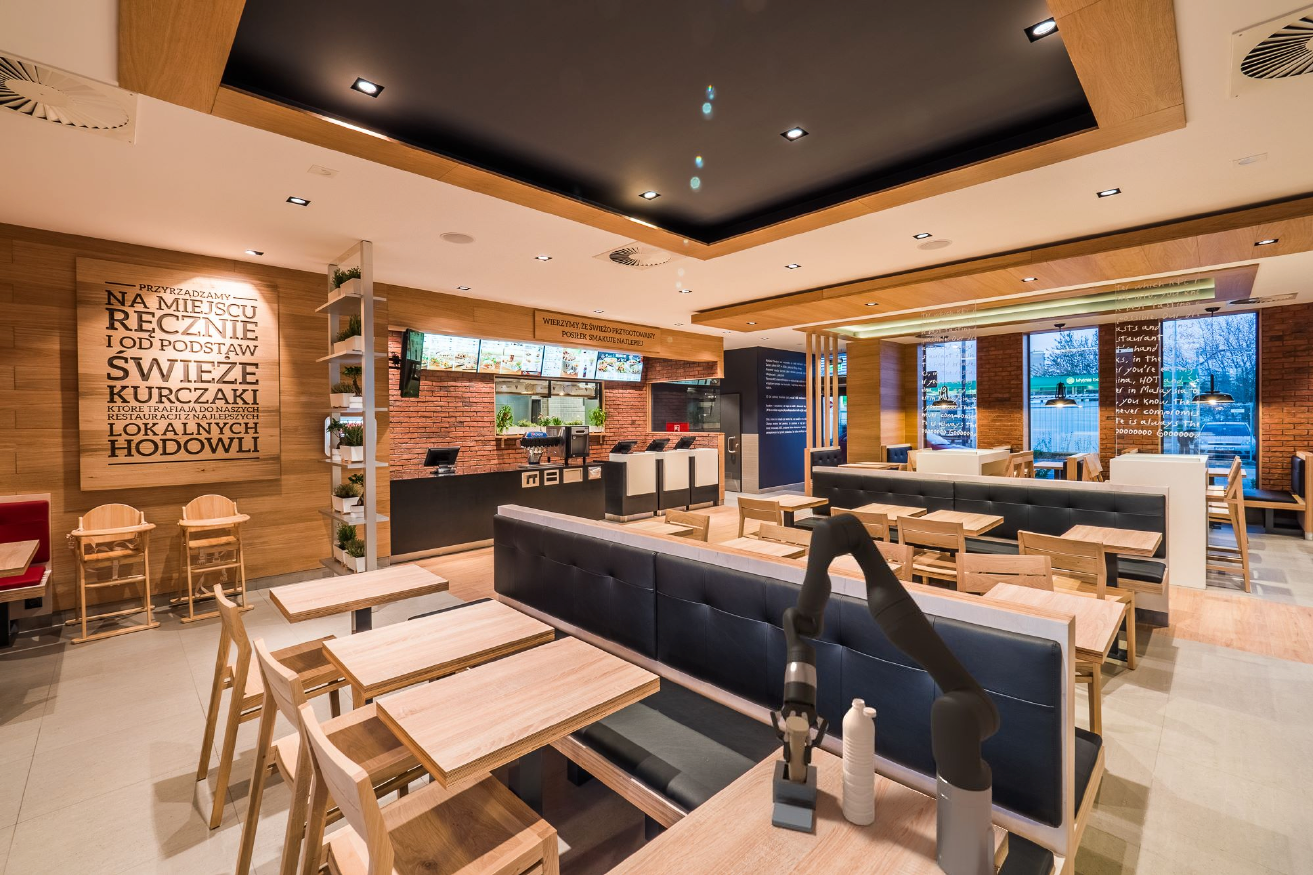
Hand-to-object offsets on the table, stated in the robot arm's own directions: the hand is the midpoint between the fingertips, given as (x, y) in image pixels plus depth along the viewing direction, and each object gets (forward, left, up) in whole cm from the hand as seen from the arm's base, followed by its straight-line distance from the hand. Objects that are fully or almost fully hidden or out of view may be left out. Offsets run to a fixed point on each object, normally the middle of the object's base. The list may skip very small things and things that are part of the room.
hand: (797, 763), depth 127 cm
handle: (0, -2, -7) cm, 7 cm away
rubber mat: (+1, +7, -8) cm, 11 cm away
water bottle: (-13, +2, -9) cm, 16 cm away
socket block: (+1, -2, -8) cm, 9 cm away
